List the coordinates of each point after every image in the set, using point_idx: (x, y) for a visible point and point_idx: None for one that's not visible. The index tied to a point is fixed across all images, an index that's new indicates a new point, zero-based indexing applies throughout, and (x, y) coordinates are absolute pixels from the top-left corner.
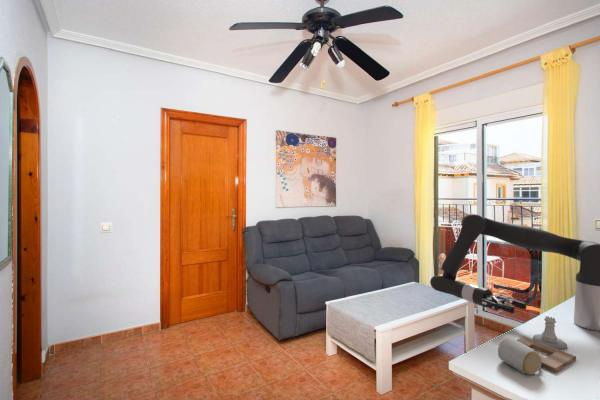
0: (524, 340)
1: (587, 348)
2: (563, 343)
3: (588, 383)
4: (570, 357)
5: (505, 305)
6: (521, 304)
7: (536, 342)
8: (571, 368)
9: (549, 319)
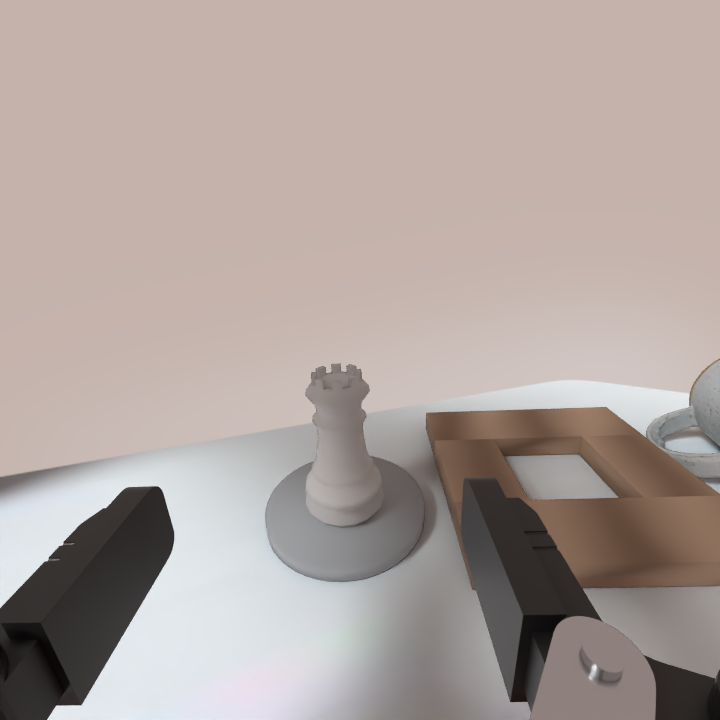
0: None
1: (258, 442)
2: None
3: (535, 390)
4: (461, 414)
5: (542, 567)
6: (132, 539)
7: None
8: None
9: (361, 374)
